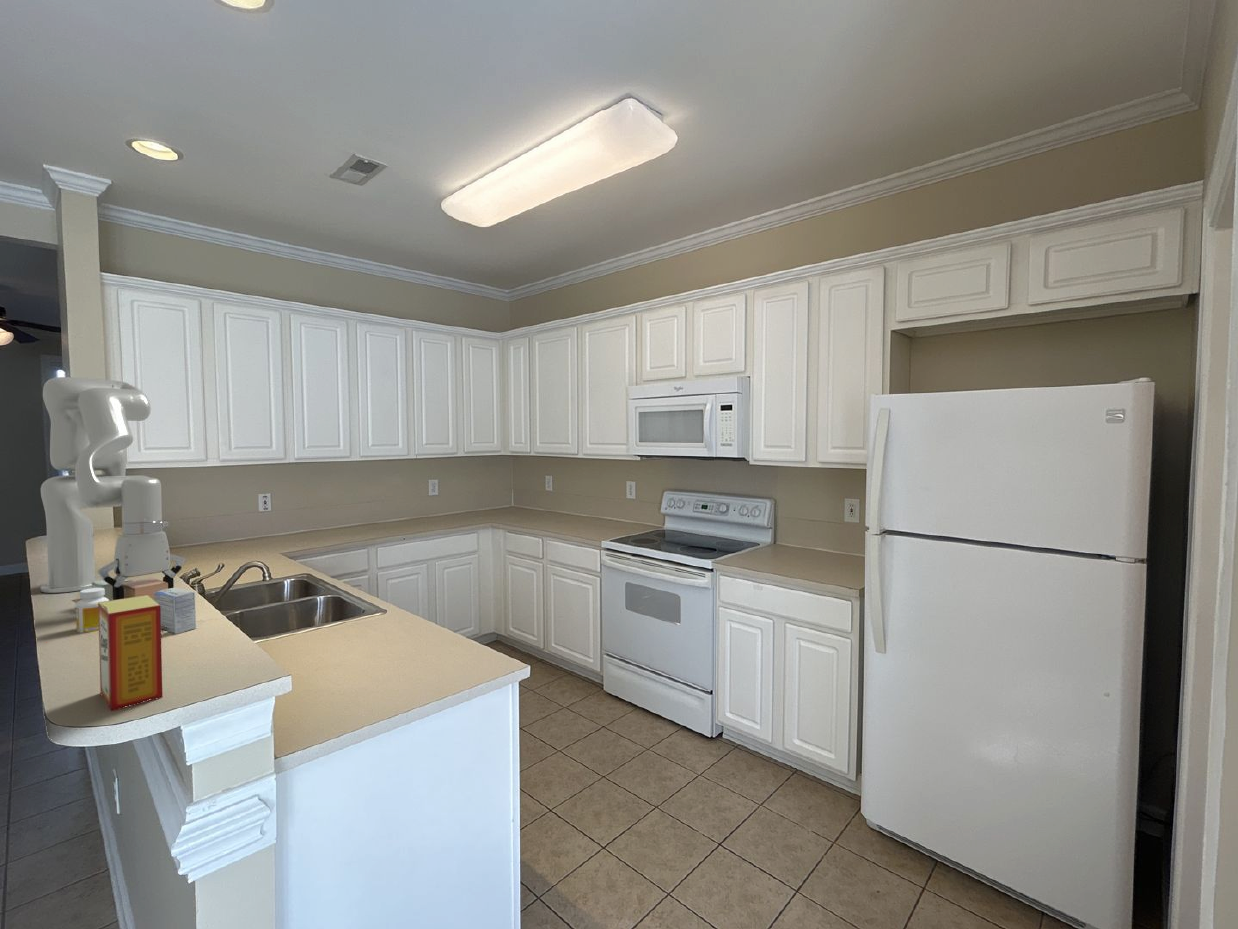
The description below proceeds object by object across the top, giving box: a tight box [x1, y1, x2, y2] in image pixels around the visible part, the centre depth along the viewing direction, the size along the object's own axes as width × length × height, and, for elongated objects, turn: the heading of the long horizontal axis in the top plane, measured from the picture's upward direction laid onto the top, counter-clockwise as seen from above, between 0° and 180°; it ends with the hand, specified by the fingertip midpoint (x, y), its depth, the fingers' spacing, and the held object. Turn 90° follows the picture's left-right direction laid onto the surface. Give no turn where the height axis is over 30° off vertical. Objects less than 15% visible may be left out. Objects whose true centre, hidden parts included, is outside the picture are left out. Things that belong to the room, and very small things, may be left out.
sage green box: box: [92, 577, 133, 601], centre depth 143 cm, size 6×6×6 cm
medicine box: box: [154, 587, 197, 635], centre depth 130 cm, size 8×4×9 cm, turn 65°
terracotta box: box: [122, 577, 168, 600], centre depth 142 cm, size 9×7×6 cm
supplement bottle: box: [75, 588, 109, 633], centre depth 126 cm, size 5×5×10 cm
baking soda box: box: [98, 595, 163, 712], centre depth 97 cm, size 10×6×16 cm
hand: (144, 597), depth 142 cm, fingers open, 9 cm apart
